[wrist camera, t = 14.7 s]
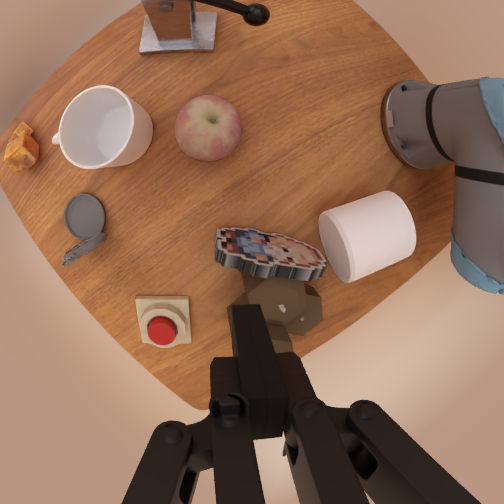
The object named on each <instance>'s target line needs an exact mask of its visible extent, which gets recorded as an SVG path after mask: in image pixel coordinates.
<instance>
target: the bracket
mask: <svg viewBox="0 0 504 504" xmlns="http://www.w3.org/2000/svg"><path fill="white" fill-rule="evenodd" d="M142 3H143V5H144V8H145V10H146V13H147V15H146V16H145V21H144V26H143V31H142V37H141V42H140V48H139V53H140V55H147V54H159V53H179V52H213V51H214V41H215V31H216V22H217V13H218V12H196V1H193V0H142Z"/></svg>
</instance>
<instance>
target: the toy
mask: <svg viewBox="0 0 504 504" xmlns="http://www.w3.org/2000/svg"><path fill="white" fill-rule="evenodd" d="M214 244H215V261H216V262H219V263H221V265H222V266H225V267H231V268H237V269H238V270H239V271H241V272H246V273H250V274H251V276H254V277H260V278H268V279H269V278H270V276H275V277H281V278H291V279H295V280H303V281H311V279H315V280H318V279H319V277H322V275H323V273H324V270H325V268H326V263H327V261H326V260H325V258H324V257H323V255H322V254H321V253H320V251H319V250H318V249H317V248H314V247H312V246H311V245H308V244H306V243H305V242H301V241H297V240H296V239H294V238H290V237H287V236H286V235H283V234H278V233H272V234H269V233H263V232H260V231H259V230H256V229H251V228H244V229H241V228H235V227H231V229H230V228H221V229H217V230H216V234H215V239H214Z"/></svg>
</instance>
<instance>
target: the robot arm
mask: <svg viewBox="0 0 504 504" xmlns="http://www.w3.org/2000/svg"><path fill="white" fill-rule="evenodd" d="M381 122H382V128H383V132H384V135H385V138H386V140H387V143H388V145H389V146H390V148H391V150H392V151H393V153H394V154H395V155H396V157H397V158H398V159H399V160H400V161H402V162H403V163H404V164H406V165H408V166H410V167H413V168H418V169H431V168H435V167H437V166H440V165H443V164H446V163H449V162H451V161H453V162H455V193H454V215H453V226H452V228H451V238H452V239H451V261H452V263H453V265H454V267H455V268H456V270H457V272H458V273H459V274H460V275H461V276H462V277H463V278H464V279H465V280H467V281H468V282H469V283H471V284H472V285H474V286H476V287H478V288H480V289H482V290H484V291H487V292H490V293H494V294H496V293H497V292H499V293H500V294H504V78H489V77H482V78H481V79H474V80H467V81H460V82H454V83H448V84H443V85H435V84H430V83H426V82H421V81H416V80H406V81H402V82H399V83H396V84H394V85H393V86H392V87H391V88H390V89H389V90H388V91H387V93H386V94H385V96H384V99H383V102H382V108H381ZM231 308H232V349H233V357H215V358H214V359H213V361H212V363H211V364H210V385H211V399H210V403H209V410H210V413H209V415H208V416H207V417H206V418H205V419H204V420H202V421H200V422H197V423H194V424H190V425H185V424H184V423H181V422H179V421H167V422H163V423H161V424H160V425H158V426H157V427H156V429H155V430H154V432H153V434H152V436H151V438H150V441H149V443H148V445H147V448H146V450H145V452H144V454H143V456H142V458H141V461H140V463H139V465H138V468H137V470H136V472H135V474H134V477H133V479H132V481H131V483H130V486H129V488H128V490H127V492H126V495H125V497H124V499H123V502H122V504H191V502H192V498H193V495H194V492H195V488H196V485H197V481H198V477H199V473H200V471H203V470H207V469H210V468H213V467H214V481H215V493H216V504H265V500H264V495H263V490H262V484H261V480H260V475H259V470H258V464H257V459H256V453H255V448H254V443H253V440H257V439H267V438H275V437H282V434H283V431H284V435H285V439H286V440H285V445H284V449H283V456H285V455H286V454H287V458H288V462H289V465H290V469H291V473H292V476H293V480H294V483H295V487H296V491H297V495H298V498H299V502H300V504H369V501H368V499H367V497H366V494H365V492H366V493H367V494H368V496H369V497H370V498H371V499H372V500H373V501H374V503H375V504H481V503H480V502H479V501H478V500H477V499H476V498H474V496H472V495H471V494H470V493H469V492H468V491H467V490H466V489H465V488H464V487H463V486H462V485H461V484H459V483H458V482H457V481H456V480H455V479H454V478H453V477H452V476H451V475H450V474H449V473H448V472H447V471H446V470H445V469H444V468H442V467H441V466H440V465H439V464H438V463H437V462H436V461H435V460H434V459H433V458H432V457H431V456H430V455H429V454H428V453H426V451H425V450H423V448H421V447H420V446H419V445H418V444H417V443H416V442H415V441H414V440H413V439H412V438H411V437H410V436H409V435H408V434H407V433H406V432H405V431H404V430H403V429H402V428H401V427H400V426H399V425H398V424H397V423H396V422H395V421H394V420H393V419H392V418H391V417H390V416H389V415H388V414H387V413H386V412H385V411H383V410H382V408H381V407H380V406H379V405H377V404H376V403H374V402H372V401H369V400H359V401H356V402H354V403H353V404H352V405H351V406H350V408H335V407H330V406H327V405H325V403H324V402H323V401H321V400H320V399H318V398H317V397H316V395H315V392H314V390H313V387H312V385H311V383H310V381H309V378H308V376H307V374H306V371H305V369H304V367H303V364H302V362H301V359H300V358H299V357H298V356H297V355H296V354H295V353H294V352H283V353H276V352H275V349H274V346H273V343H272V340H271V337H270V334H269V331H268V328H267V325H266V321H265V318H264V315H263V312H262V309H261V306H260V304H247V305H231ZM363 489H364V490H363ZM364 491H365V492H364Z"/></svg>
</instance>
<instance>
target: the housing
mask: <svg viewBox="0 0 504 504" xmlns="http://www.w3.org/2000/svg"><path fill="white" fill-rule="evenodd" d="M135 302H136V308H137V315H138V321H139V327H140V332H141V338H142V342H143V343H151V344H153V345H155V346H157V347H160V348H171V347H173V346H176V345H178V344H191V342H192V338H191V324H190V309H189V296H140V295H137V296H136V298H135ZM160 316H162V317H167V318H169V319H170V320H172V321H173V322H174V324H175V326H176V333H175V339H174V341H173V342H172V343H170V344H168V345H158V344H155V343H154V342H152V341H151V340H150V338H149V336H148V328H149V325H150V322H151V321H152V319H154V318H156V317H160Z"/></svg>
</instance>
